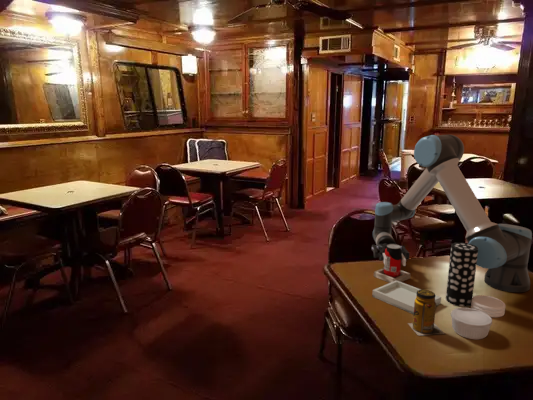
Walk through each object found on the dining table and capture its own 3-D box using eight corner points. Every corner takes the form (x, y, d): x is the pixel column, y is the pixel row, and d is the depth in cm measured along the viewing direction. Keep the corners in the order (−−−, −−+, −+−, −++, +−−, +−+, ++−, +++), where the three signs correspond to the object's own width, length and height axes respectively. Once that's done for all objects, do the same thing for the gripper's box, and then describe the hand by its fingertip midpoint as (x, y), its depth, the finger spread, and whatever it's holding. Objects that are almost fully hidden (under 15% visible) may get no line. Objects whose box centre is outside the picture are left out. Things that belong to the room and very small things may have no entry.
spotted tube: (474, 307, 139) (481, 251, 135) (448, 305, 141) (454, 249, 137) (468, 296, 147) (474, 243, 143) (443, 294, 149) (448, 241, 144)
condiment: (407, 323, 129) (410, 288, 126) (433, 322, 130) (436, 286, 127) (417, 336, 122) (421, 298, 119) (445, 334, 123) (449, 297, 120)
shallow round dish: (504, 308, 139) (506, 298, 138) (503, 321, 131) (505, 311, 130) (472, 301, 144) (473, 292, 144) (469, 313, 136) (470, 303, 135)
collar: (410, 278, 163) (410, 273, 163) (394, 284, 157) (395, 279, 157) (388, 270, 171) (389, 266, 170) (373, 276, 165) (373, 271, 164)
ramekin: (481, 323, 129) (483, 308, 128) (497, 343, 118) (499, 326, 117) (444, 321, 130) (446, 306, 129) (456, 340, 120) (458, 324, 119)
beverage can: (401, 278, 160) (403, 249, 158) (384, 277, 161) (386, 248, 159) (398, 272, 166) (400, 244, 164) (382, 271, 167) (384, 243, 165)
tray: (440, 303, 142) (441, 297, 141) (417, 316, 134) (418, 309, 133) (395, 286, 156) (396, 280, 155) (372, 296, 147) (372, 290, 147)
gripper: (407, 252, 179) (420, 272, 157) (362, 250, 182) (369, 270, 159) (409, 235, 178) (422, 253, 155) (363, 234, 180) (370, 252, 158)
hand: (395, 262), depth 157 cm, fingers closed on beverage can, 6 cm apart
